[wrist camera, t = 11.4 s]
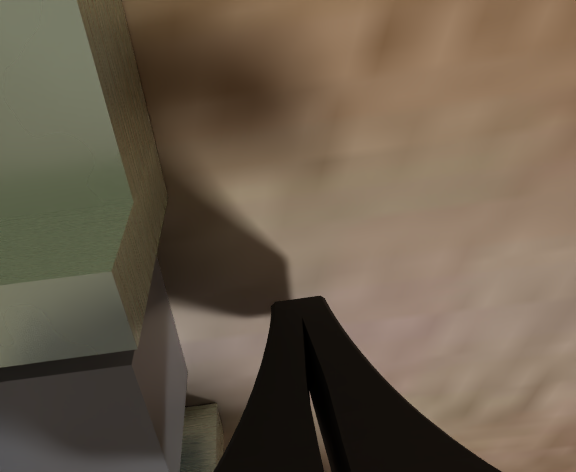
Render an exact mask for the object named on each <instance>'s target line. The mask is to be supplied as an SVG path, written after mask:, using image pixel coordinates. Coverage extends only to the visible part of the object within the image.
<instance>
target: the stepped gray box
mask: <svg viewBox="0 0 576 472" xmlns="http://www.w3.org/2000/svg"><path fill="white" fill-rule="evenodd" d="M187 376H188V371H187V367H186V363H185V360H184V356H183V352H182V348H181V345H180V341H179V337H178V333H177V330H176V326H175V322H174V318H173V315H172V311H171V307H170V303H169V300H168V296H167V292H166V288H165V285H164V281H163V277H162V273H161V270H160V266H159V262H158V258H157V255H156V260H155V265H154V270H153V275H152V280H151V285H150V290H149V295H148V300H147V305H146V310H145V315H144V320H143V325H142V330H141V335H140V340H139V345H138V349H135V350H128V351H120V352H113V353H106V354H98V355H91V356H83V357H76V358H68V359H61V360H53V361H46V362H38V363H31V364H24V365H16V366H9V367H1V368H0V472H180V462H181V450H182V438H183V425H184V413H185V401H186V388H187Z"/></svg>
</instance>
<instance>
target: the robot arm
mask: <svg viewBox="0 0 576 472" xmlns="http://www.w3.org/2000/svg"><path fill="white" fill-rule="evenodd" d="M309 391H310V394H309ZM310 395H311V398H312V402H313V406H314V409H315V413H316V417H317V420H318V424H319V427H320V431H321V435H322V438H323V442H324V445H325V449H326V453H327V456H328V460H329V464H330V467H331V472H501V471H500V470H498V469H496V468H495V467H493V466H492V465H490V464H488V463H487V462H485V461H484V460H482V459H481V458H479V457H478V456H476V455H475V454H474V453H472V452H471V451H469V450H468V449H466V448H465V447H464V446H462V445H461V444H459V443H458V442H457V441H455V440H454V439H453V438H451V437H450V436H449V435H448V434H446V433H445V432H444V431H442V430H441V429H440V428H439V427H437V426H436V425H435V424H434V423H432V422H431V421H430V420H429V419H427V418H426V417H425V416H424V415H422V414H421V413H420V412H419V411H418V410H417V409H416V408H414V407H413V406H412V405H411V404H410V403H409V402H408V401H407V400H406V399H404V398H403V397H402V396H401V395H400V394H399V393H398V392H397V391H396V390H395V389H394V388H393V387H392V386H391V385H390V384H389V383H388V382H387V381H386V380H385V379H384V378H383V377H382V376H381V375H380V373H379V372H378V371H377V370H376V369H375V368H374V367H373V366H372V364H371V363H370V362H369V361H368V360H367V359H366V357H365V356H364V355H363V354H362V353H361V351H360V350H359V349H358V348H357V346H356V345H355V344H354V342H353V341H352V340H351V339H350V337H349V336H348V335H347V333H346V332H345V331H344V329H343V328H342V326H341V325H340V323H339V322H338V320H337V319H336V317H335V316H334V314H333V312H332V311H331V309H330V307H329V306H328V304H327V302H326V300H325V298H323V297H322V296H315V297H308V298H300V299H293V300H286V301H279V302H274V303H273V305H272V306H271V321H270V328H269V334H268V339H267V343H266V347H265V351H264V355H263V359H262V363H261V366H260V369H259V372H258V375H257V378H256V381H255V384H254V387H253V390H252V393H251V395H250V398H249V400H248V403H247V405H246V408H245V410H244V412H243V415H242V417H241V419H240V422H239V424H238V426H237V428H236V430H235V432H234V434H233V436H232V438H231V440H230V442H229V444H228V446H227V448H226V450H225V452H224V454H223V456H222V457H221V459H220V461H219V463H218V464H217V466H216V468H215V469H214V471H213V472H324V470H323V465H322V460H321V456H320V451H319V446H318V441H317V436H316V431H315V426H314V421H313V416H312V411H311V406H310Z"/></svg>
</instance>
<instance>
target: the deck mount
mask: <svg viewBox="0 0 576 472" xmlns="http://www.w3.org/2000/svg"><path fill="white" fill-rule="evenodd" d="M167 200H168V195H167V191H166V187H165V182H164V178H163V174H162V170H161V165H160V161H159V157H158V153H157V148H156V144H155V140H154V136H153V132H152V127H151V123H150V119H149V115H148V110H147V106H146V102H145V98H144V93H143V89H142V85H141V81H140V76H139V72H138V68H137V64H136V60H135V55H134V51H133V47H132V43H131V38H130V34H129V30H128V26H127V21H126V17H125V13H124V9H123V4H122V0H0V368H1V367H9V366H16V365H24V364H31V363H38V362H46V361H53V360H61V359H68V358H76V357H83V356H91V355H98V354H106V353H113V352H120V351H128V350H135V349H138V345H139V340H140V335H141V330H142V325H143V320H144V315H145V310H146V305H147V300H148V295H149V290H150V285H151V280H152V275H153V270H154V265H155V260H156V255H157V250H158V245H159V240H160V235H161V230H162V225H163V220H164V215H165V210H166V205H167ZM222 456H223V428H222V424H221V420H220V415H219V411H218V407H217V403H214V404H207V405H200V406H193V407H186V408H185V413H184V425H183V438H182V450H181V462H180V472H213V471H214V469H215V468H216V466H217V464H218V463H219V461H220V459H221V457H222Z"/></svg>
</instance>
